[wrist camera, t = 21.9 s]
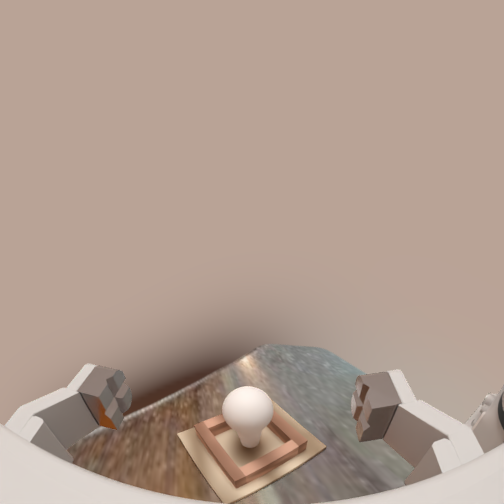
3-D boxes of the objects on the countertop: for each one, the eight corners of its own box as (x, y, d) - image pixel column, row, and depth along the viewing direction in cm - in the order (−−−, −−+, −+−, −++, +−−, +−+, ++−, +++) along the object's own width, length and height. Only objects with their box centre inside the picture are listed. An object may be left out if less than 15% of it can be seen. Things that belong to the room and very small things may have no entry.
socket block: (267, 397, 42) (267, 385, 41) (325, 448, 31) (329, 436, 30) (178, 435, 34) (173, 424, 33) (225, 506, 22) (222, 498, 22)
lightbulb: (266, 424, 36) (266, 372, 32) (277, 455, 30) (280, 406, 27) (225, 431, 34) (216, 380, 31) (232, 464, 29) (223, 416, 25)
